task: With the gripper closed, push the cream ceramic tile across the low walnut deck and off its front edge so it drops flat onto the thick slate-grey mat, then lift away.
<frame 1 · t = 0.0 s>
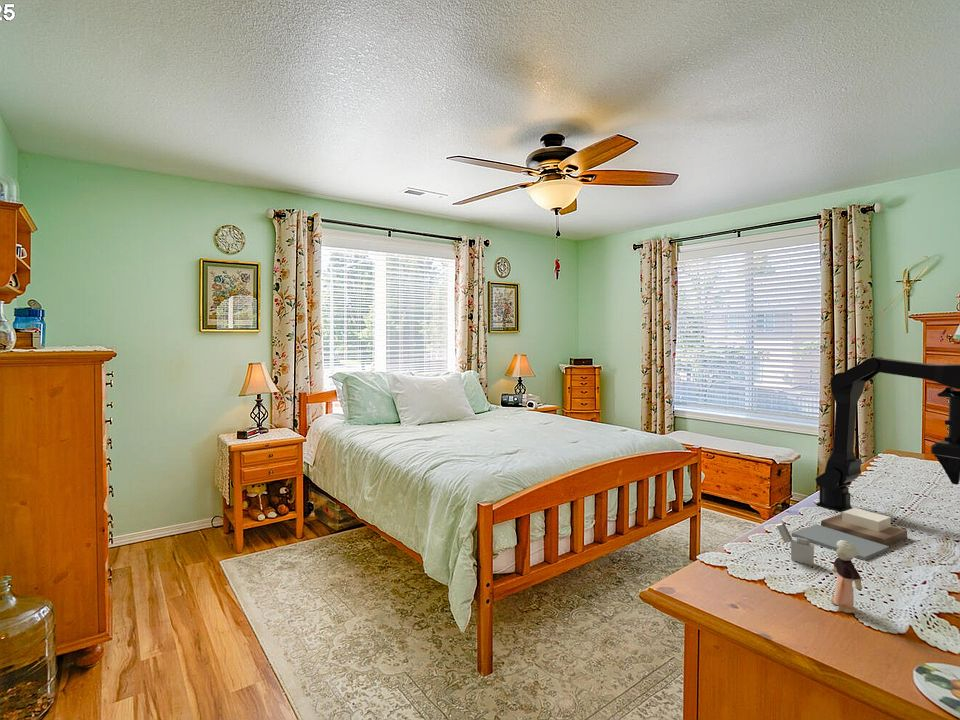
grandmother figurine: (845, 609, 92), on the dresser
mat: (838, 542, 120), on the dresser
deck: (862, 533, 125), on the dresser
lighter: (794, 560, 112), on the dresser
tile: (865, 524, 126), point 2 cm above the dresser, touching deck
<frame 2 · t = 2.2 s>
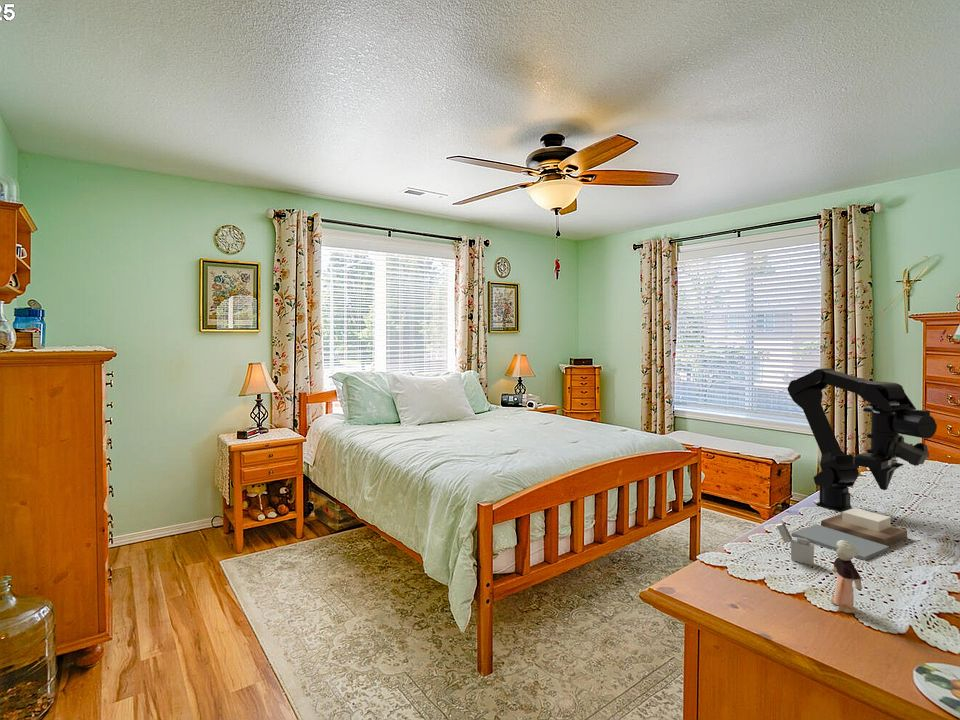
hand: (883, 489, 130), 9 cm above the dresser, tool pointing down, fingers closed
nothing on the dresser moved.
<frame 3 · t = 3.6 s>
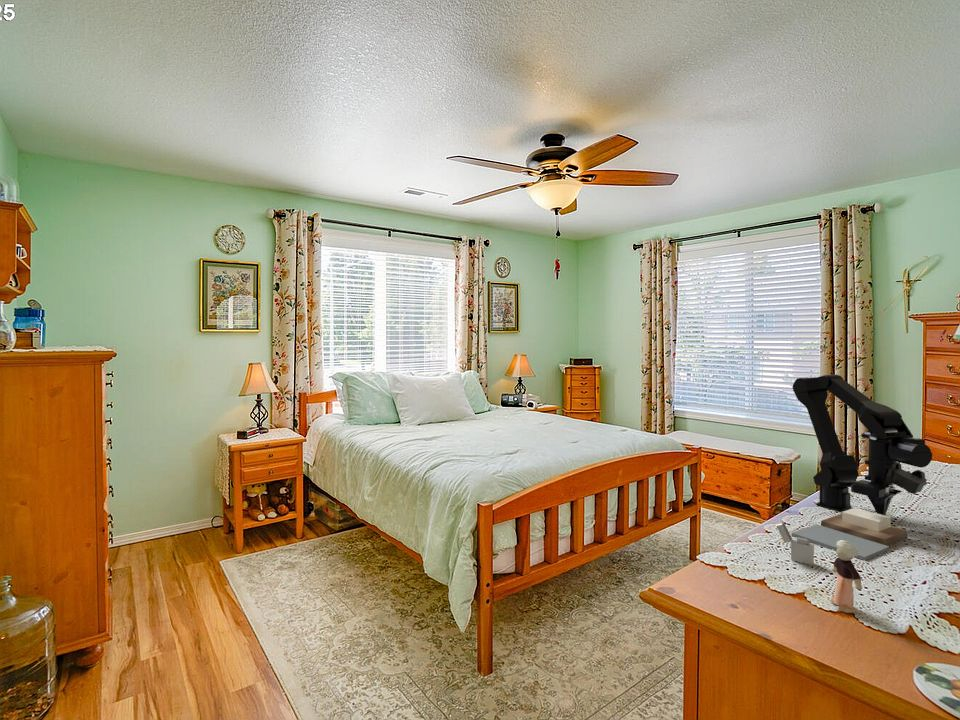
hand: (881, 516, 129), 3 cm above the dresser, tool pointing down, fingers closed
nothing on the dresser moved.
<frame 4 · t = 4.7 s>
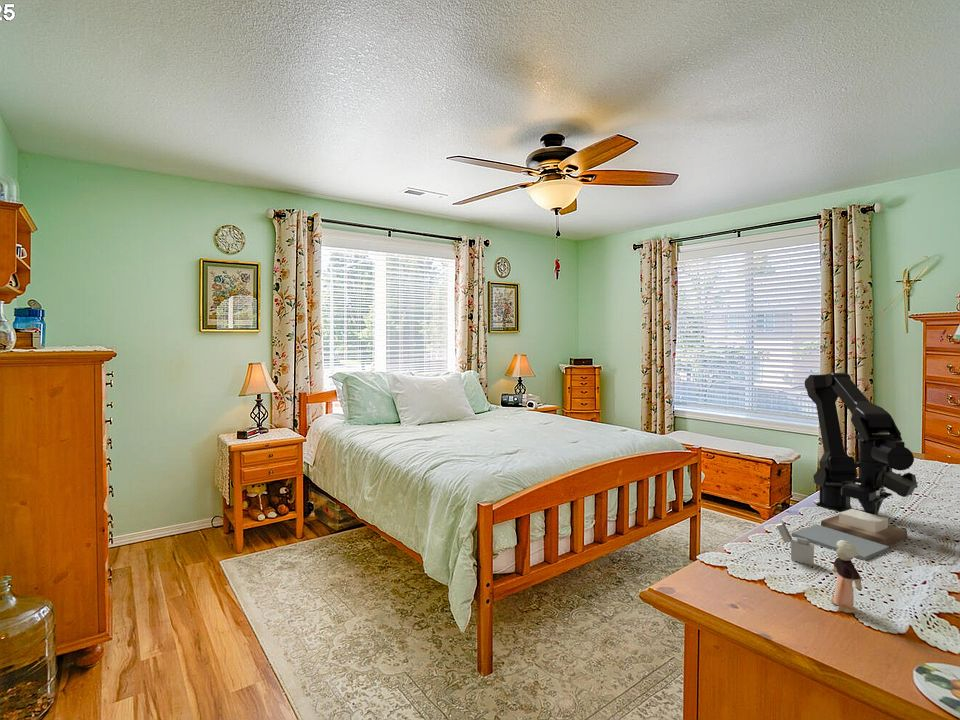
hand: (872, 519, 127), 3 cm above the dresser, tool pointing down, fingers closed
tile: (862, 525, 125), point 2 cm above the dresser, touching deck, gripper
everything else where it was.
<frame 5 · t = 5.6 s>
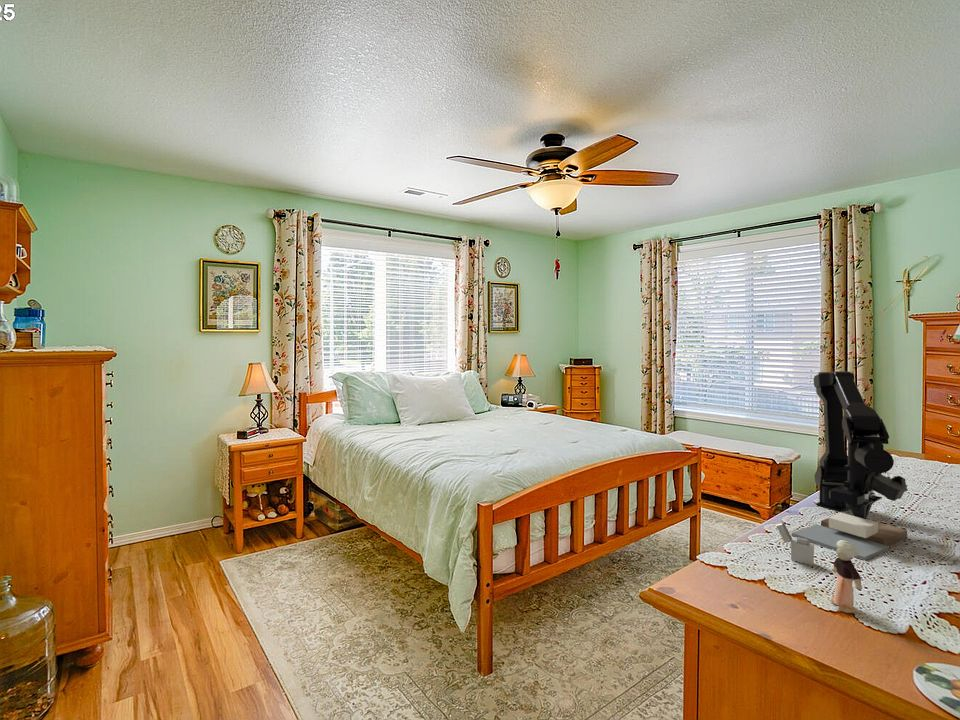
hand: (861, 523, 124), 3 cm above the dresser, tool pointing down, fingers closed
tile: (852, 529, 122), point 2 cm above the dresser, touching deck, gripper
everything else where it was.
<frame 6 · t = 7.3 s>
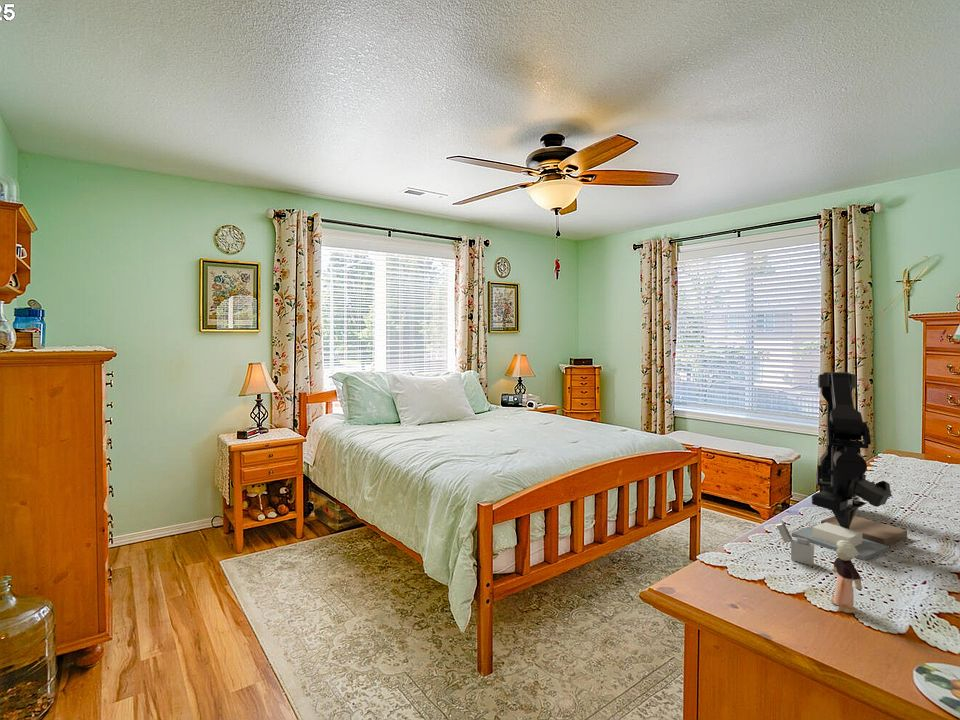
hand: (845, 529, 121), 3 cm above the dresser, tool pointing down, fingers closed
tile: (836, 540, 120), point 1 cm above the dresser, touching gripper, mat
everything else where it was.
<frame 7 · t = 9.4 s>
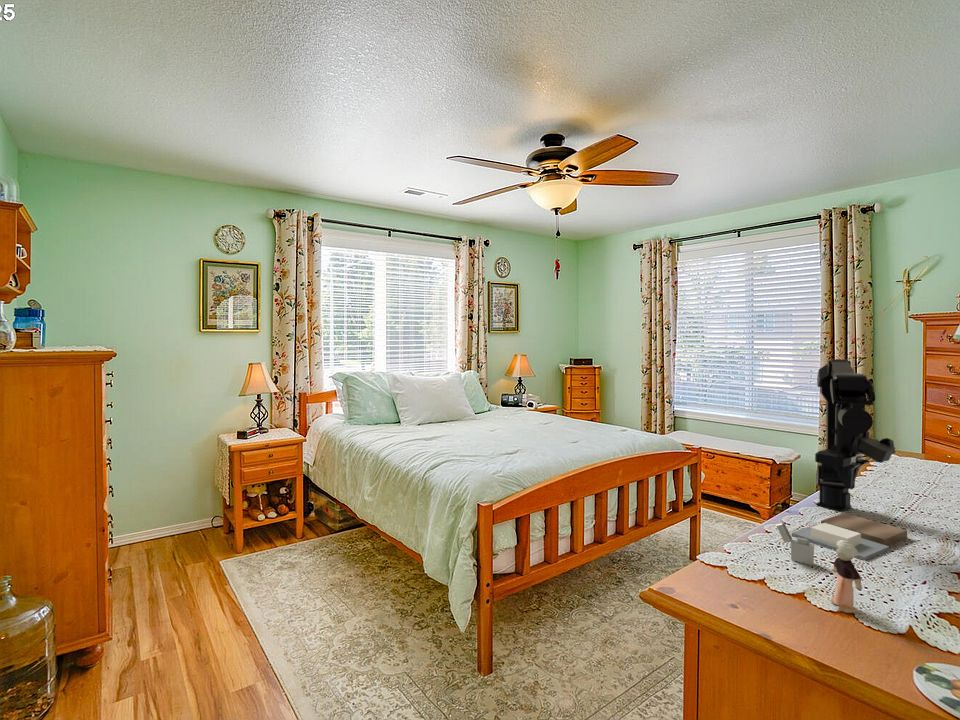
hand: (848, 488, 122), 13 cm above the dresser, tool pointing down, fingers closed
tile: (835, 540, 119), point 1 cm above the dresser, touching mat
everything else where it was.
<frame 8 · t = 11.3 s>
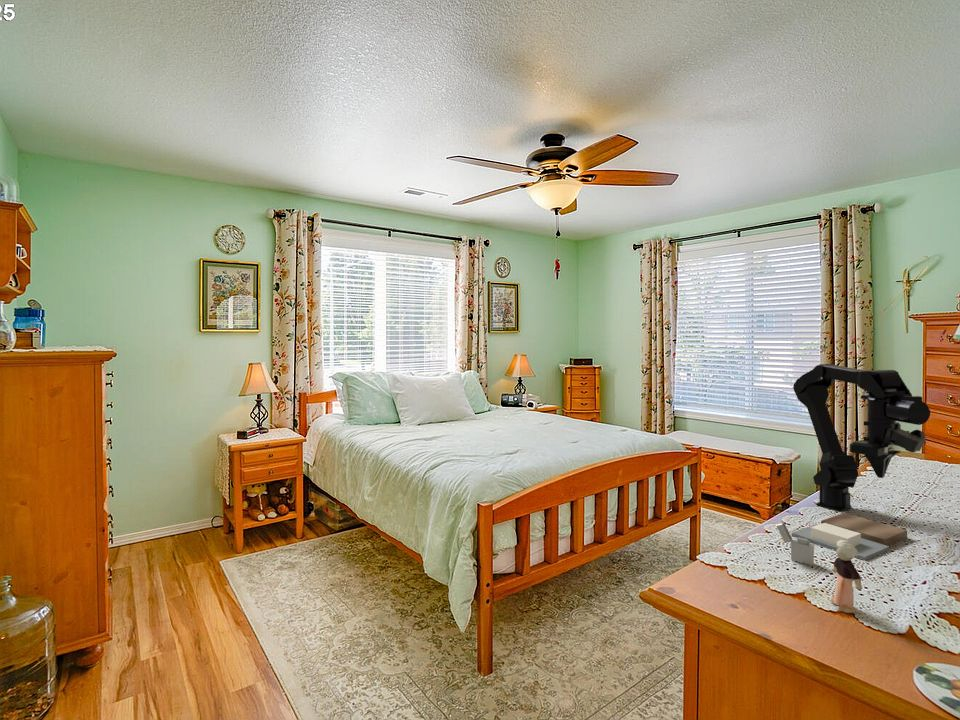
hand: (880, 477, 128), 13 cm above the dresser, tool pointing down, fingers closed
nothing on the dresser moved.
at the end: tile inside the target area on the mat (1.1 cm from its centre), point 0.8 cm above the mat's base; tile tilted 0° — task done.
